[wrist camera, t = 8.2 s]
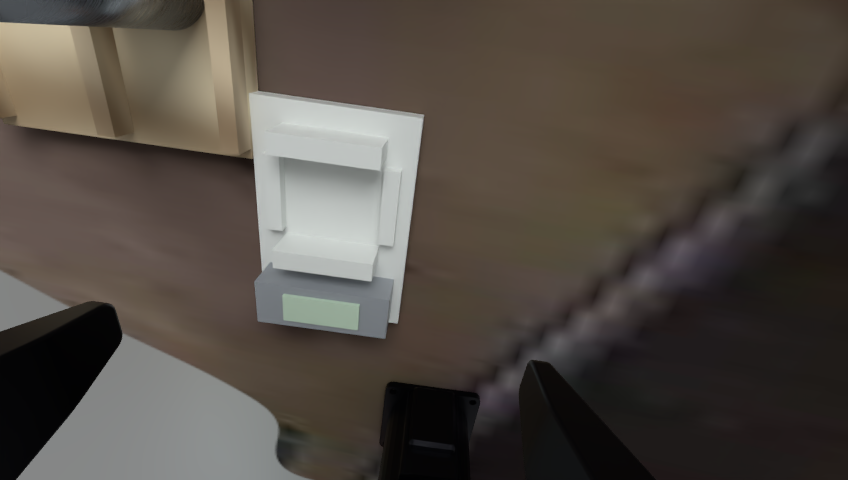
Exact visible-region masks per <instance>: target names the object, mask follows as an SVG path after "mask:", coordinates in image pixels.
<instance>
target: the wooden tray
mask: <svg viewBox="0 0 848 480" xmlns="http://www.w3.org/2000/svg"><path fill="white" fill-rule="evenodd" d="M204 4H205V9H204V11H203V13H202V15H201V17H200V18H199V19H198V21H196V22H195V23H194V24H193V25H192V26H190V27H188V28H186V29H182V30H175V31H172V30H151V29H130V28H109V27H88V26H67V25H46V24H25V23H5V22H0V118H2V119H3V122H4V124H9V125H16V126H23V127H30V128H37V129H44V130H51V131H59V132H66V133H73V134H80V135H87V136H94V137H101V138H108V139H115V140H122V141H129V142H136V143H143V144H150V145H157V146H164V147H171V148H178V149H185V150H192V151H199V152H206V153H214V154H221V155H228V156H235V157H242V158H249V159H253V158H254V156H253V142H252V129H251V116H250V102H249V93H252V92H256V91H258V77H257V61H256V46H255V30H254V14H253V0H204Z"/></svg>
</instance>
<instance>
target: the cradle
mask: <svg viewBox="0 0 848 480" xmlns="http://www.w3.org/2000/svg"><path fill="white" fill-rule="evenodd" d="M249 102H250V116H251V129H252V142H253V156H254V169H255V182H256V196H257V209H258V222H259V236H260V249H261V262H262V273H261V274H260V275H259V277H258V278H257V279H256V280H255V282H254V283H255V295H256V306H257V317H258V321H259V322H266V323H274V324H281V325H288V326H295V327H303V328H310V329H317V330H325V331H332V332H339V333H346V334H354V335H361V336H368V337H376V338H383V339H385V337H386V333H387V328H388V323H389V322H390V323H397V324H398V318H399V312H400V305H401V297H402V289H403V281H404V273H405V265H406V257H407V249H408V241H409V233H410V225H411V217H412V209H413V201H414V193H415V185H416V177H417V169H418V161H419V153H420V145H421V137H422V129H423V121H424V115H422V114H415V113H408V112H402V111H395V110H388V109H381V108H374V107H367V106H360V105H353V104H346V103H339V102H332V101H325V100H318V99H311V98H304V97H297V96H290V95H283V94H276V93H269V92H263V91H256V92H252V93H249Z"/></svg>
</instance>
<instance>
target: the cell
mask: <svg viewBox="0 0 848 480" xmlns="http://www.w3.org/2000/svg"><path fill="white" fill-rule="evenodd" d="M204 9H205V4H204V0H0V22H5V23H25V24H46V25H67V26H88V27H109V28H130V29H151V30H172V31H175V30H182V29H186V28H188V27H190V26H192V25H193V24H194V23H195V22H196V21H198V19H199V18H200V17H201V15H202V13H203V11H204Z"/></svg>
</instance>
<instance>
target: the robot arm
mask: <svg viewBox="0 0 848 480" xmlns="http://www.w3.org/2000/svg"><path fill="white" fill-rule="evenodd" d="M121 340H122V330H121V326H120V323H119V320H118V316H117V313H116V310H115V308H114V306H113V305H111V304H109V303H103V302H95V301H90V302H86V303H83V304H80V305H77V306H74V307H71V308H68V309H65V310H63V311H59V312H56V313H53V314H51V315H48V316H45V317H42V318H39V319H36V320H33V321H30V322H27V323H24V324H21V325H18V326H15V327H13V328H10V329H7V330H4V331H1V332H0V480H16V479H17V478H18V477H19V475H20V474H21V473H22V472H23V471H24V469H25V468H26V467H27V466H28V465H29V463H30V462H31V461H32V459H34V457H35V456H36V455H37V454H38V453H39V451H40V450H41V449H42V448H43V447H44V445H45V444H46V443H47V441H49V439H50V438H51V437H52V436H53V435H54V433H55V432H56V431H57V430H58V429H59V427H60V426H61V425H62V424H63V423H64V421H65V420H66V419H67V418H68V416H69V415H70V414H71V413H72V411H73V410H74V409H75V407H76V406H77V405H78V403H79V402H80V401H81V399H82V398H83V396H84V395H85V393H86V392H87V391H88V389H89V388H90V386H91V385H92V383H93V382H94V381H95V379H96V377H97V376H98V375H99V373H100V372H101V371H102V369H103V368H104V366H105V365H106V363H107V362H108V360H109V359H110V358H111V356H112V355H113V353H114V352H115V350H116V349H117V348H118V346H119V344H120V342H121ZM392 389H394V390H392ZM479 405H480V397H479V395H478V394H476V393H471V392H464V391H457V390H449V389H442V388H435V387H427V386H420V385H413V384H405V383H398V382H390V383H388V384H387V386H386V393H385V401H384V409H383V418H382V426H381V435H380V445H381V446H383V454H382V460H381V466H380V473H379V479H378V480H470V461H469V440H470V437H471V433H472V430H473V426H474V423H475V419H476V416H477V412H478V409H479ZM519 405H520V418H521V431H522V445H523V457H524V468H525V474H526V480H656V479H655V478H654V477H653V476H652V475H651V474H650V473H649V472H648V470H647V469H646V468H645V467H644V466H643V465H642V464H641V463H640V462H639V461H638V459H637V458H636V457H635V456H634V455H633V454H632V453H631V452H630V451H629V450H628V448H627V447H626V446H625V445H624V444H623V443H622V442H621V441H620V440H619V439H618V437H617V436H616V435H615V434H614V433H613V432H612V431H611V430H610V429H609V428H608V426H607V425H606V424H605V423H604V422H603V421H602V420H601V419H600V418H599V417H598V416H597V414H596V413H595V412H594V411H593V410H592V409H591V408H590V407H589V406H588V405H587V403H586V402H585V401H584V400H583V399H582V398H581V397H580V396H579V395H578V394H577V392H576V391H575V390H574V389H573V388H572V387H571V386H570V385H569V384H568V383H567V381H566V380H565V379H564V378H563V377H562V376H561V375H560V374H559V373H558V372H557V370H556V369H555V368H554V367H553V366H552V365H551V364H550V363H548V362H544V361H537V360H531V361H529V362H528V364H527V367H526V370H525V373H524V376H523V379H522V382H521V385H520V389H519Z"/></svg>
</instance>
